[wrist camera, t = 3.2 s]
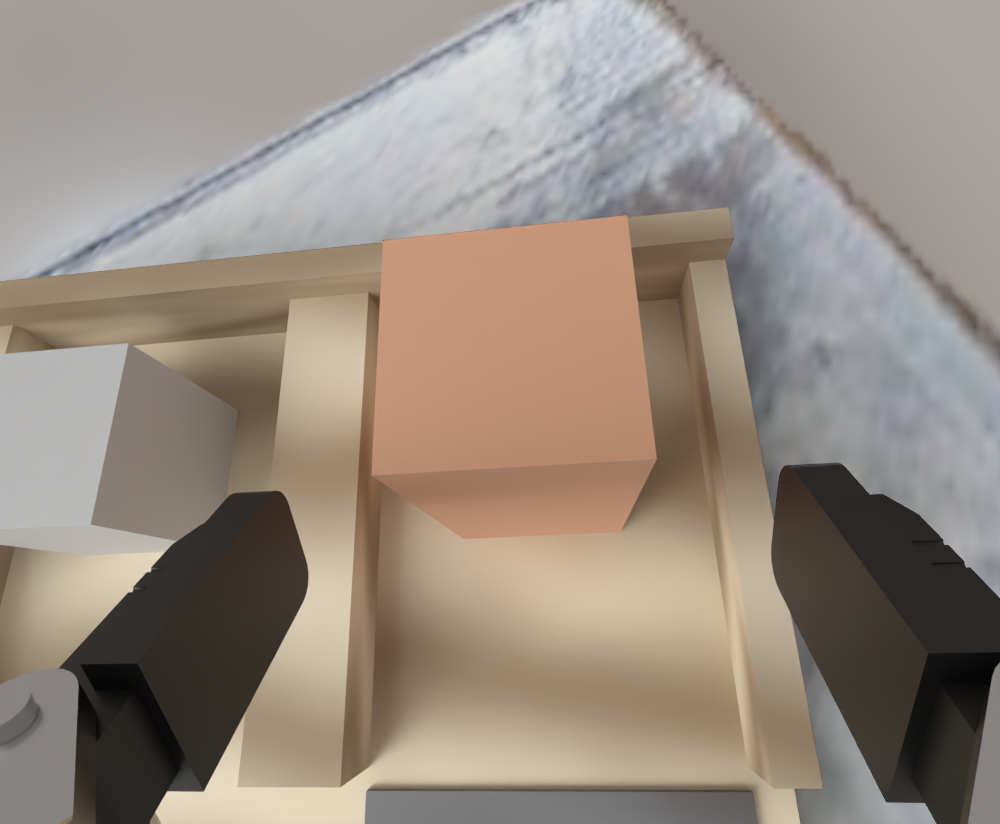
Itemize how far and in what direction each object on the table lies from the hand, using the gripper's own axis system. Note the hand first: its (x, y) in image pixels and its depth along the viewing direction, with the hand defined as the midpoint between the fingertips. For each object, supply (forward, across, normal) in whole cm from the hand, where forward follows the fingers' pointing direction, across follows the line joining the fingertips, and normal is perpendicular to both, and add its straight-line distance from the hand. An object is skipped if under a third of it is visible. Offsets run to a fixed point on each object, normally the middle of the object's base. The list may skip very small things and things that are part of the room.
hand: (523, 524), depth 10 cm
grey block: (+7, +12, +3) cm, 14 cm away
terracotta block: (+7, 0, +3) cm, 8 cm away
